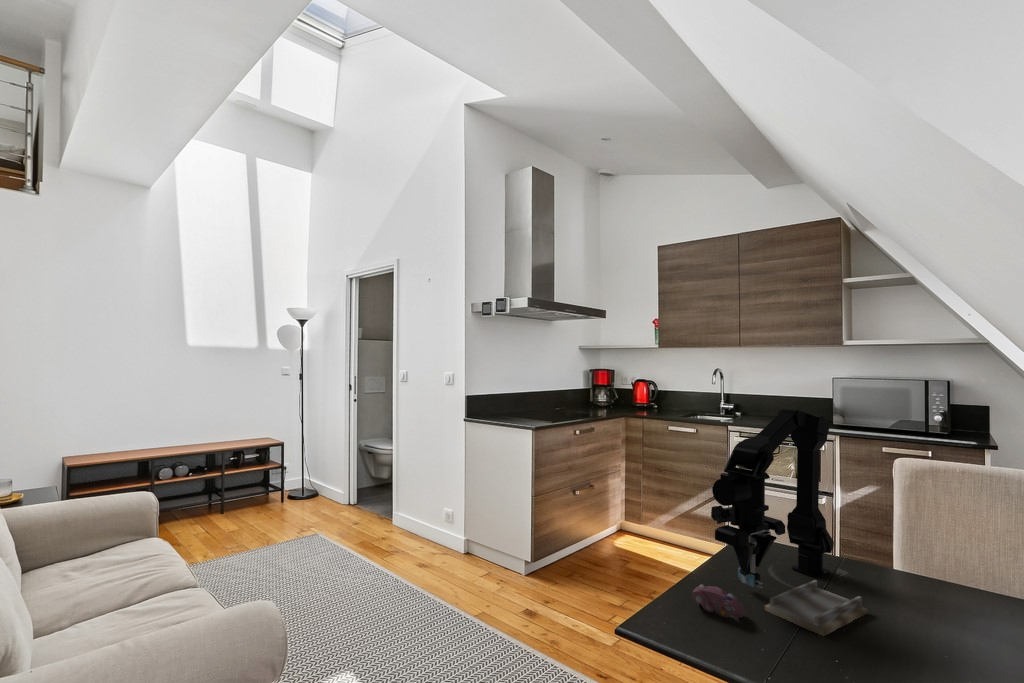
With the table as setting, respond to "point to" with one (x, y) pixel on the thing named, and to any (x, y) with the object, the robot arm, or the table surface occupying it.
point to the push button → (751, 568)
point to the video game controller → (718, 601)
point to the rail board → (816, 608)
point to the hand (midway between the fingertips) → (750, 568)
